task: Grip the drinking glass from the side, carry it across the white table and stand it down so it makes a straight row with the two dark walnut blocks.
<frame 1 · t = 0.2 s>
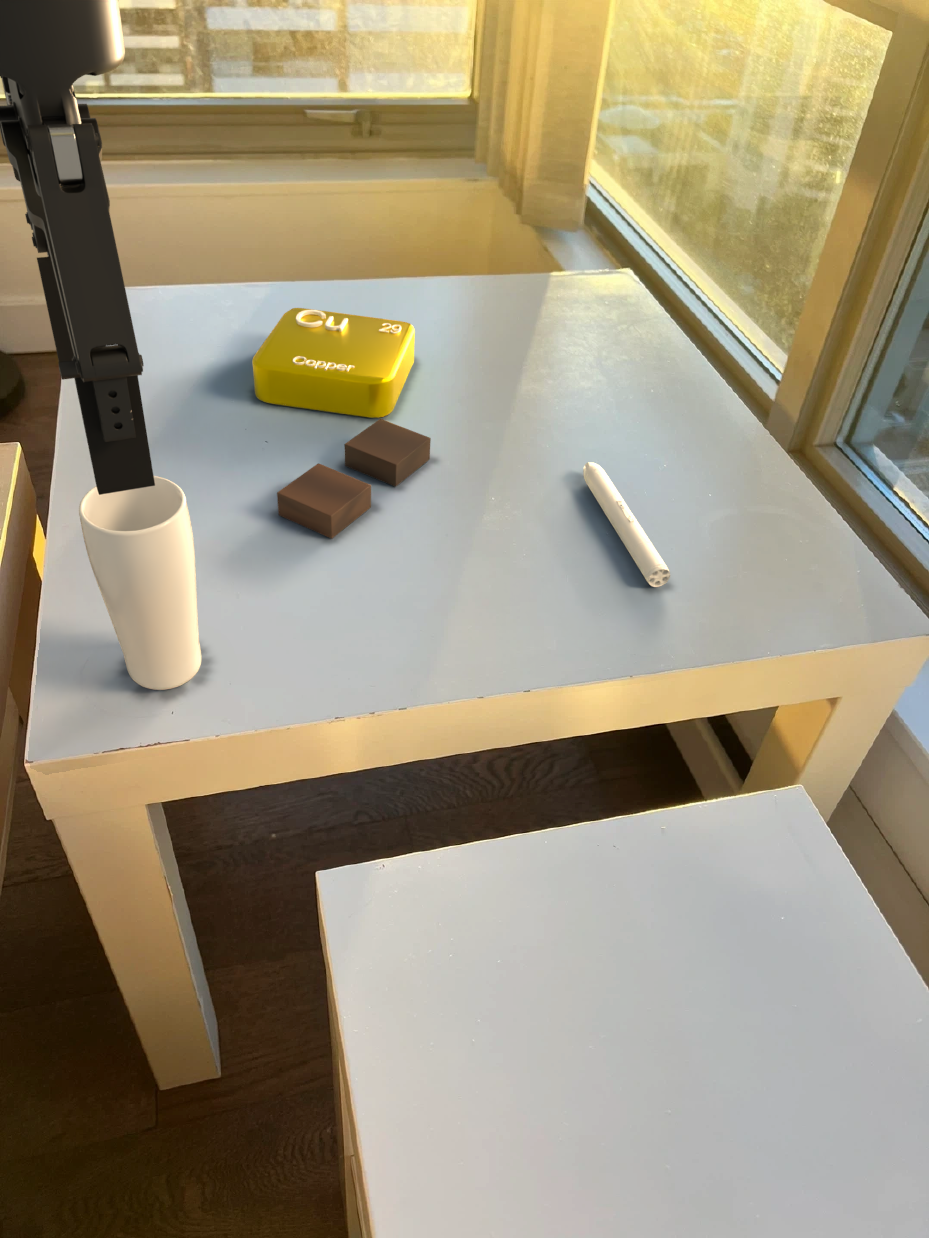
hand: (103, 422, 53), 23 cm above the table, tool pointing down, fingers open, 13 cm apart
walnut block near: (325, 511, 87), on the table
marker: (618, 527, 89), on the table
drinking glass: (166, 669, 72), on the table
walnut block far: (387, 462, 94), on the table
element tile: (337, 380, 106), on the table
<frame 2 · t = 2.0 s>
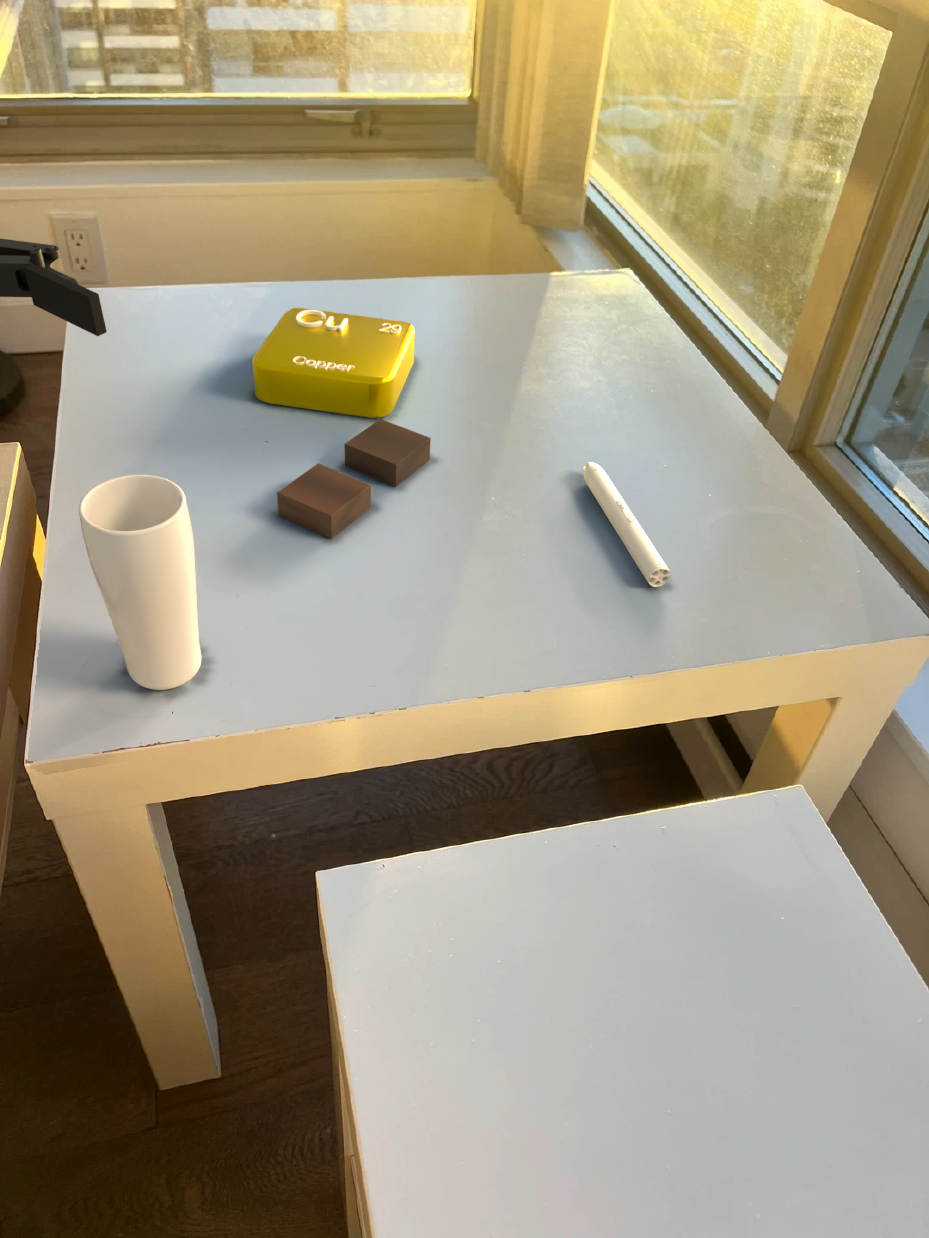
hand: (9, 355, 59), 23 cm above the table, tool horizontal, fingers open, 13 cm apart
nothing on the table moved.
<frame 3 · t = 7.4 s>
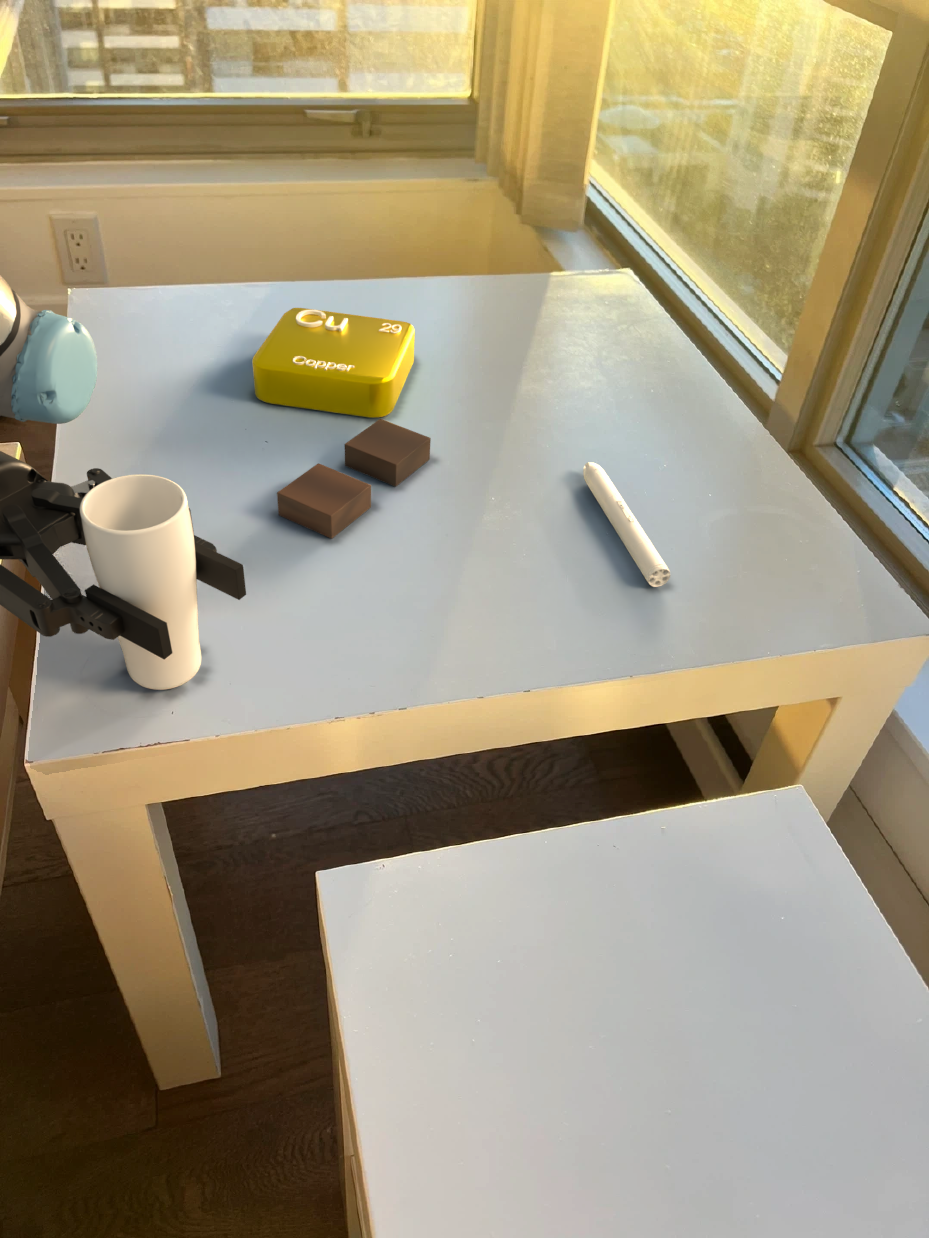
hand: (204, 610, 64), 8 cm above the table, tool horizontal, fingers closed on drinking glass, 7 cm apart
drinking glass: (166, 669, 72), on the table, touching gripper
everything else where it was.
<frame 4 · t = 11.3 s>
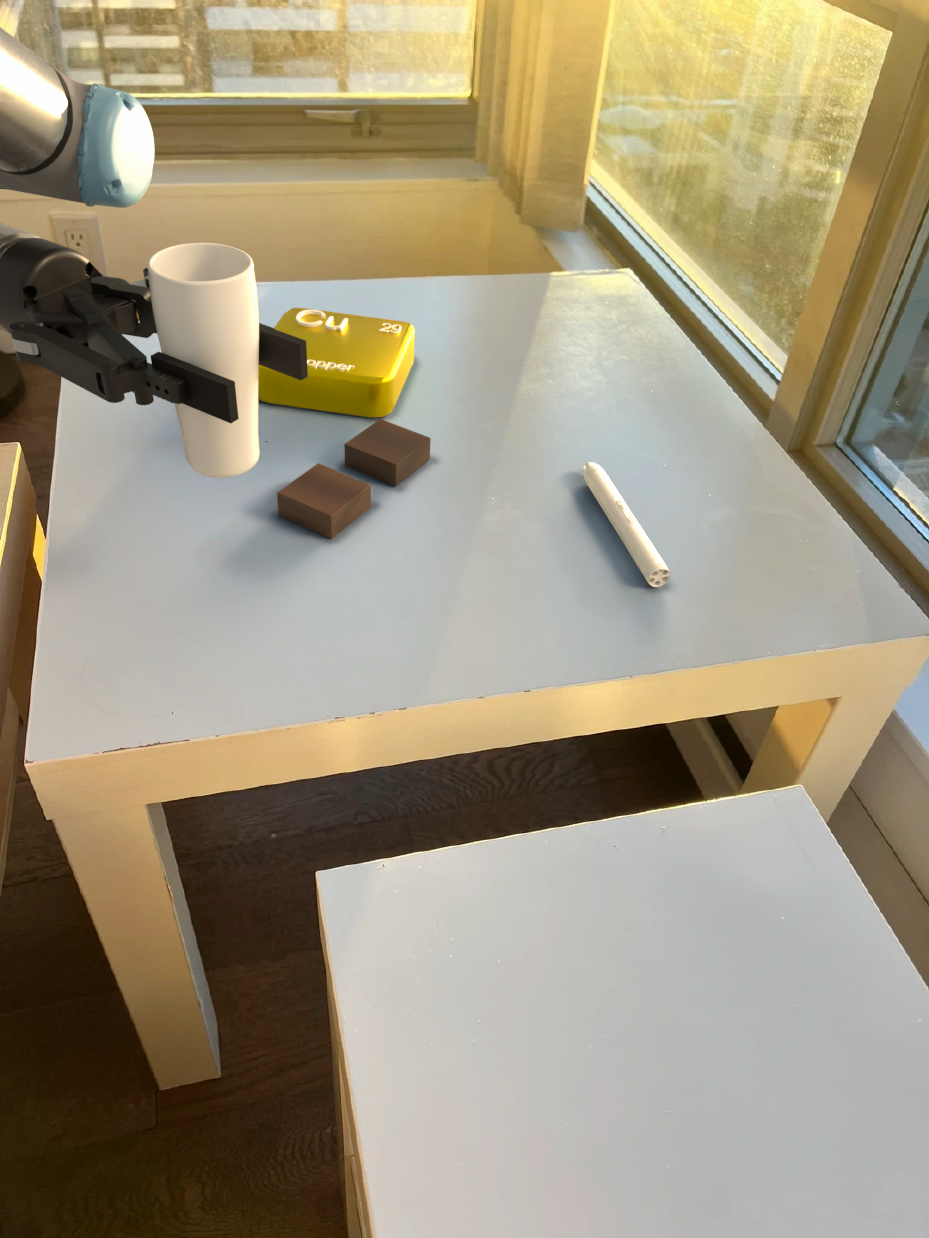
hand: (269, 380, 64), 20 cm above the table, tool horizontal, fingers closed on drinking glass, 7 cm apart
drinking glass: (224, 463, 71), point 12 cm above the table, touching gripper
everything else where it was.
when the fingers open (8 cm above the table, at t = 15.1 s): drinking glass stays where it is, on the table.
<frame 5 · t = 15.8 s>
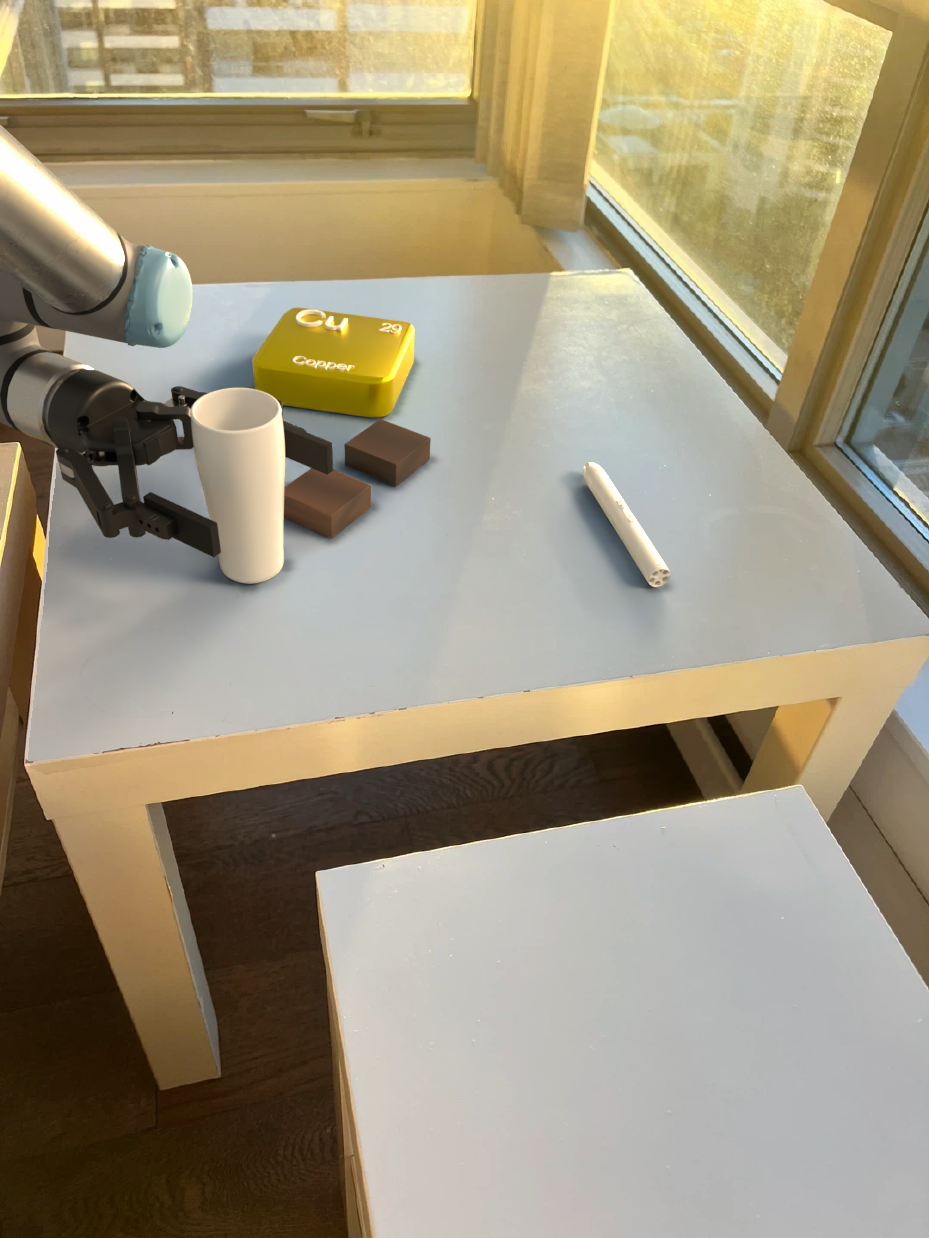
hand: (276, 497, 74), 9 cm above the table, tool horizontal, fingers open, 13 cm apart
drinking glass: (252, 568, 81), on the table
everything else where it was.
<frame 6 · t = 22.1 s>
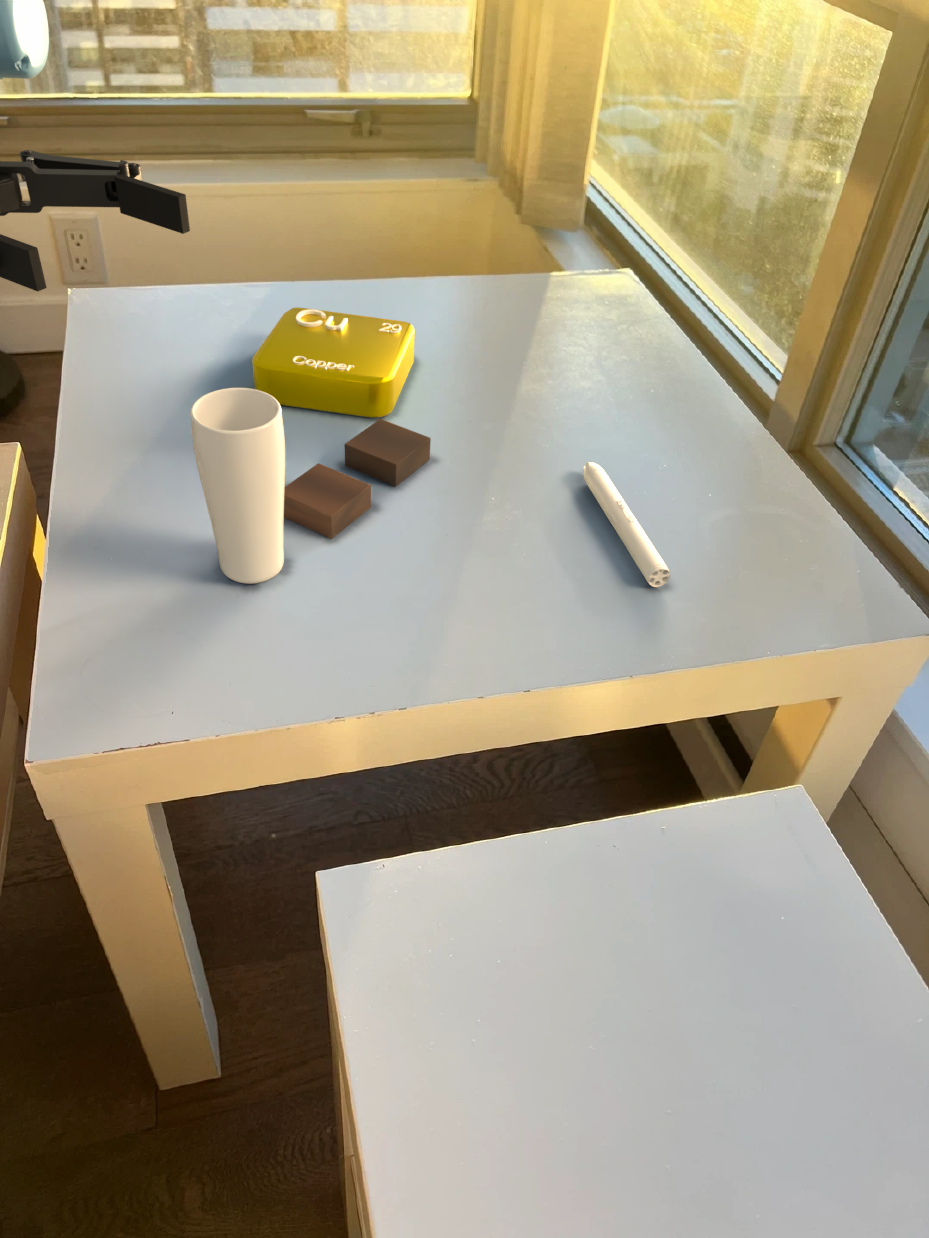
hand: (116, 240, 67), 25 cm above the table, tool horizontal, fingers open, 13 cm apart
nothing on the table moved.
at the end: drinking glass 0.0 cm from the target spot on the table beside the walnut block near, on the table; drinking glass 0.0 cm from the target spot on the table beside the walnut block far, on the table; drinking glass tilted 0° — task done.
